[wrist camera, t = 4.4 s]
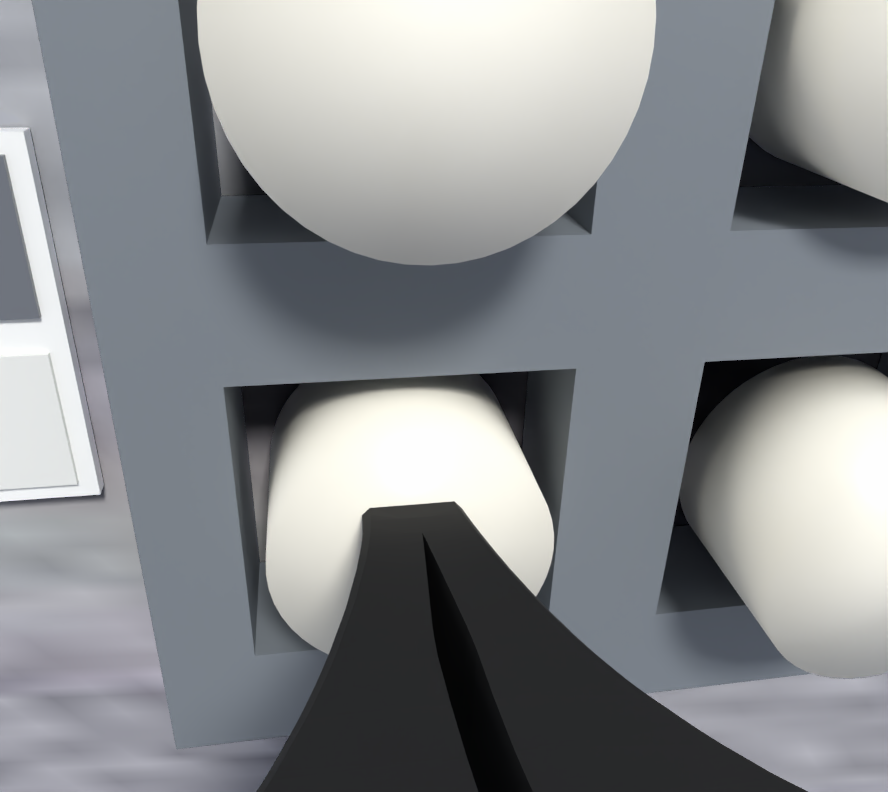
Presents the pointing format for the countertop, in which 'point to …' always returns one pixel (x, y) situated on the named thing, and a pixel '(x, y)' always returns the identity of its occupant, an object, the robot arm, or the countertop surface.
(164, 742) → the countertop surface
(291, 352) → the board
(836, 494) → the button
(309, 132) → the button
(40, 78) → the countertop surface
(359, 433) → the button
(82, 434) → the tile
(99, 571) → the countertop surface
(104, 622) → the countertop surface
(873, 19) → the button
